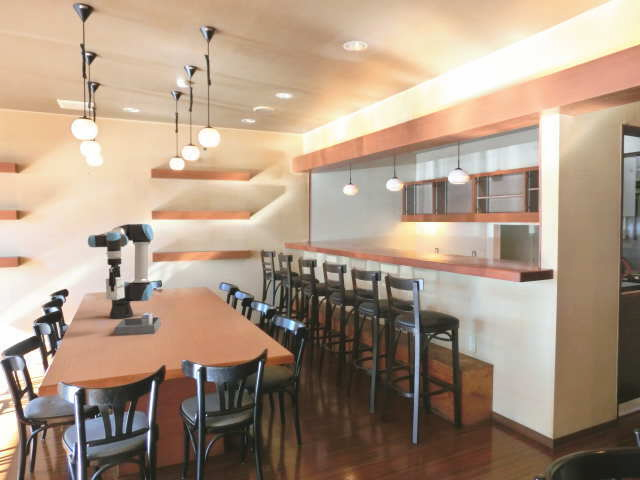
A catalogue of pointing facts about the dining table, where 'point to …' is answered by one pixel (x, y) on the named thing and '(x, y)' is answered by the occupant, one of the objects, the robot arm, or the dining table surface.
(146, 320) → the medicine box
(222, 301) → the dining table surface
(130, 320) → the tote
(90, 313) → the dining table surface
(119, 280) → the supplement box
